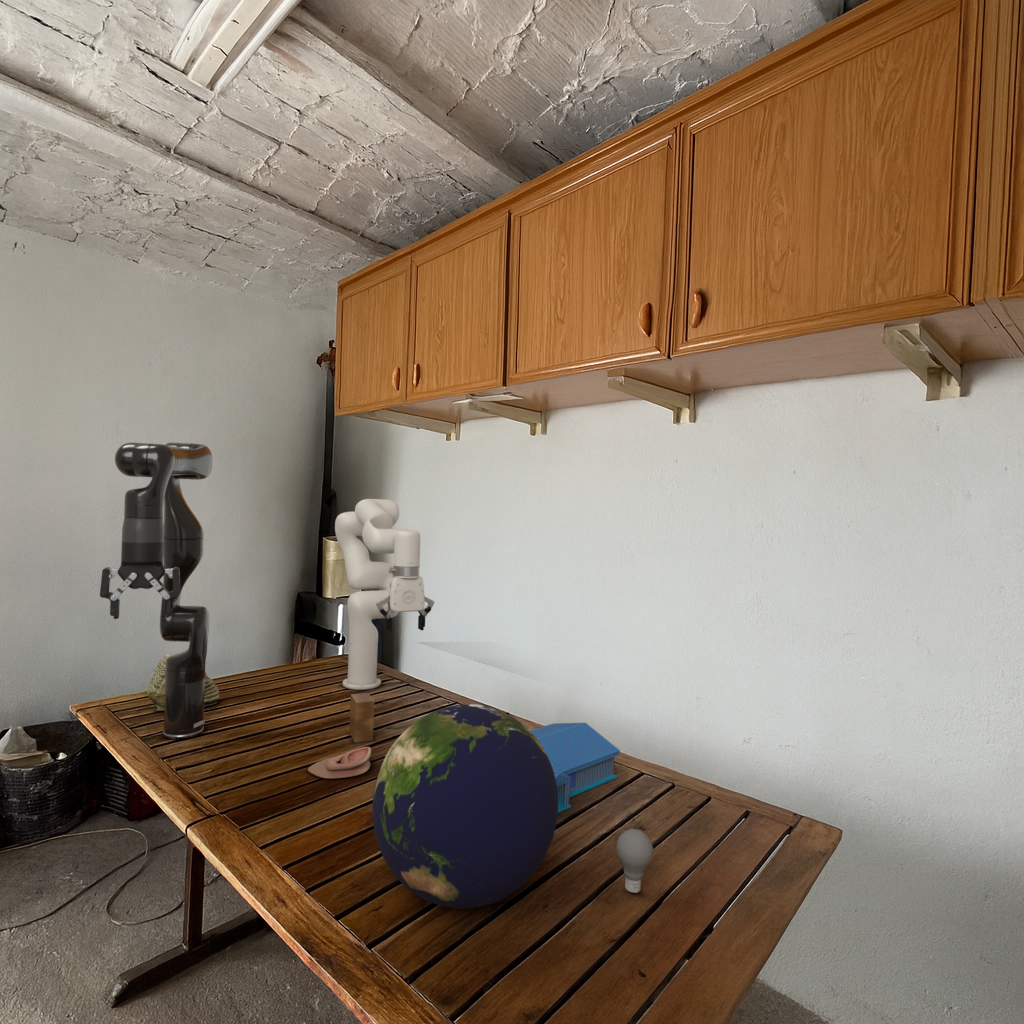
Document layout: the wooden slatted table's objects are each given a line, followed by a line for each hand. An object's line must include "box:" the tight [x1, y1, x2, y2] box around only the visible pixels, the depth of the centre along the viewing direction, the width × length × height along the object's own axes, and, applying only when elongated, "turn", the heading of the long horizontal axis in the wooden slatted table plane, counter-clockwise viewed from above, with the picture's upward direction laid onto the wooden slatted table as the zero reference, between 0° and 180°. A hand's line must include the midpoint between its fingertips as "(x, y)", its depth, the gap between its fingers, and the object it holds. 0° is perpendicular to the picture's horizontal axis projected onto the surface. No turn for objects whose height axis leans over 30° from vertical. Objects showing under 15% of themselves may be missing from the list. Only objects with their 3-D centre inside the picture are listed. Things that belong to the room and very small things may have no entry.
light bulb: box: [615, 828, 654, 894], centre depth 106 cm, size 6×6×10 cm
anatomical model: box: [307, 746, 372, 779], centre depth 147 cm, size 13×4×12 cm
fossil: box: [147, 654, 221, 712], centre depth 185 cm, size 9×18×15 cm, turn 132°
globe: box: [371, 703, 559, 910], centre depth 103 cm, size 30×30×30 cm
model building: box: [529, 722, 621, 814], centre depth 143 cm, size 39×24×10 cm, turn 132°
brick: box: [348, 692, 375, 743], centre depth 168 cm, size 5×7×10 cm, turn 25°
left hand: (140, 617), depth 131 cm, fingers open, 8 cm apart
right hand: (405, 630), depth 186 cm, fingers open, 9 cm apart
